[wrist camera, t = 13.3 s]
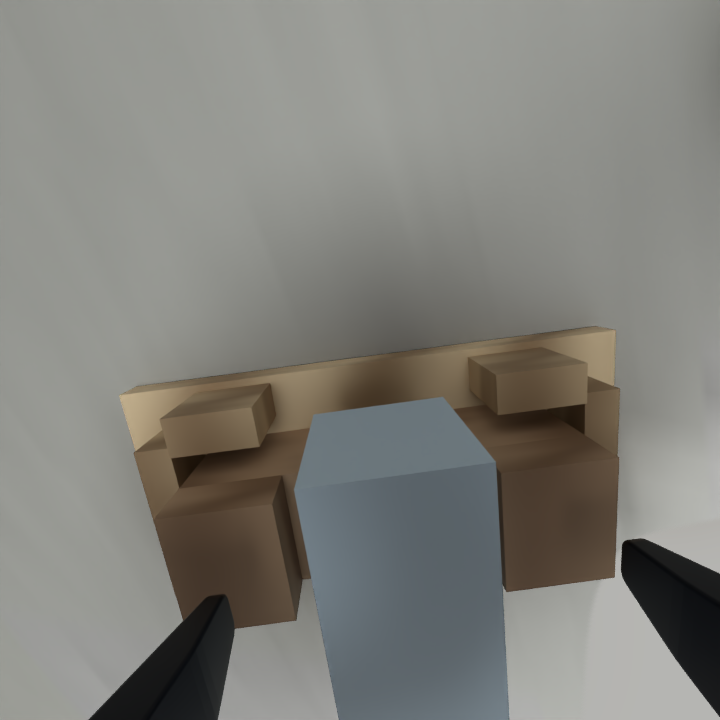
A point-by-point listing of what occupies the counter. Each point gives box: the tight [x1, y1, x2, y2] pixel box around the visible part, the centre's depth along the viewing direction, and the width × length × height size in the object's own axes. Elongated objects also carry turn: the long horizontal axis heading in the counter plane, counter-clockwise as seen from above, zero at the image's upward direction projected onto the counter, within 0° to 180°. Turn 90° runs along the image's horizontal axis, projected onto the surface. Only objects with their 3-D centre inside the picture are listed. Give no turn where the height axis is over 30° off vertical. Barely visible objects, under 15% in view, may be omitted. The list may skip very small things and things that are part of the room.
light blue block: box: [294, 397, 509, 720], centre depth 10 cm, size 4×8×4 cm, turn 8°
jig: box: [119, 326, 620, 595], centre depth 14 cm, size 20×9×4 cm, turn 97°
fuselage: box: [154, 405, 619, 629], centre depth 13 cm, size 13×4×5 cm, turn 97°
